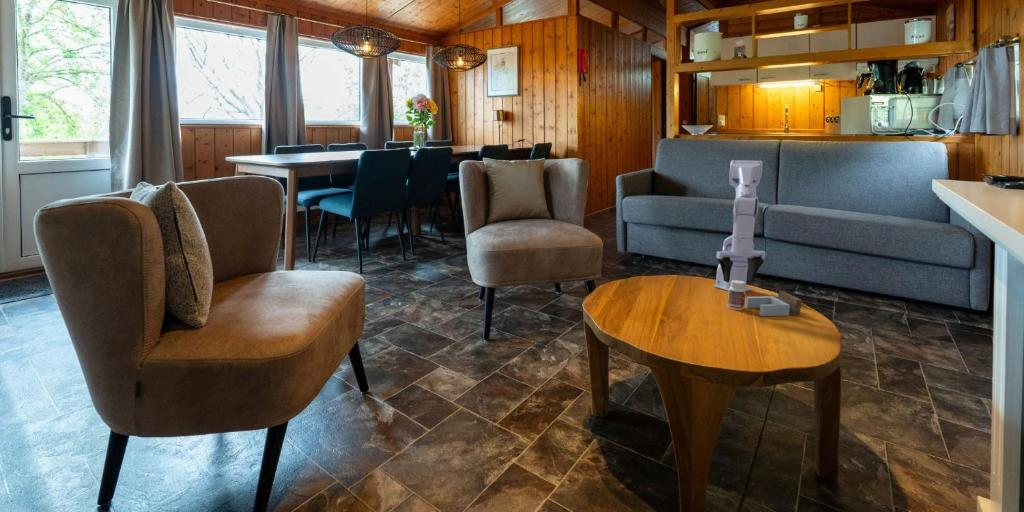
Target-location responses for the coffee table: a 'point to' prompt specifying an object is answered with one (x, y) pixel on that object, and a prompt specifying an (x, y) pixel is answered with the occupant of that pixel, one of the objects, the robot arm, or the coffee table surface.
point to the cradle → (768, 305)
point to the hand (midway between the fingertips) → (738, 281)
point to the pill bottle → (736, 295)
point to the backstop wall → (791, 302)
